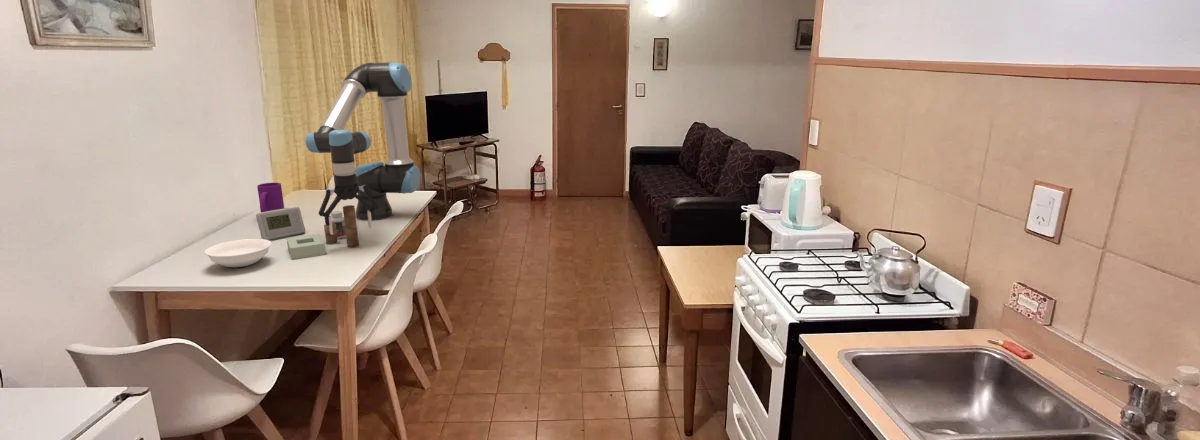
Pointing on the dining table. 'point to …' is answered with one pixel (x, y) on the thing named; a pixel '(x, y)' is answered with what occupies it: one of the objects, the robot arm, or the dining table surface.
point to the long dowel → (350, 226)
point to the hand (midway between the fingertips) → (351, 231)
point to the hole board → (306, 246)
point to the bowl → (238, 252)
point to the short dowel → (330, 238)
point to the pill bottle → (339, 223)
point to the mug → (270, 196)
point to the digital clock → (280, 223)
